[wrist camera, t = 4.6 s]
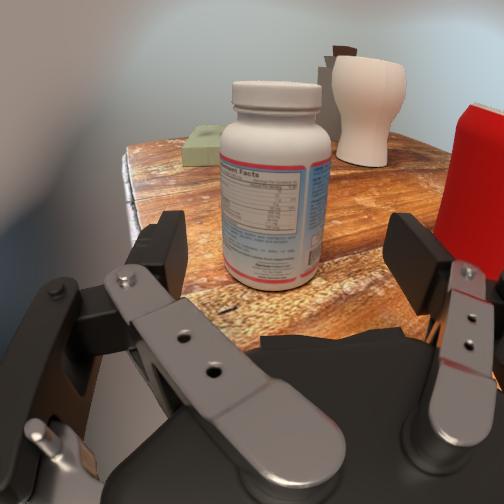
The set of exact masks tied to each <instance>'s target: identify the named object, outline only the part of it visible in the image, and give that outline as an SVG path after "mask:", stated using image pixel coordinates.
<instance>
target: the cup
mask: <svg viewBox="0 0 504 504" xmlns="http://www.w3.org/2000/svg"><path fill="white" fill-rule="evenodd" d="M332 90H333V95H334V99H335V102H336V105H337V107H338V109H339V112H340V114H341V128H342V133H341V137H340V141H339V144H338V148H337V153H336V156H337V157H338V158H339V159H341V160H343V161H346V162H349V163H353V164H357V165H362V166H370V167H382V166H386V165H387V137H388V134H389V130H390V126H391V123H392V121H393V120H394V119H395V117H396V115H397V114H398V113H399V111H400V109H401V106H402V104H403V102H404V99H405V94H406V78H405V71H404V67H403V66H402V65H399V64H396V63H392V62H388V61H383V60H378V59H371V58H365V57H356V56H337V58H336V61H335V64H334V68H333V71H332Z"/></svg>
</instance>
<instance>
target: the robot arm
mask: <svg viewBox="0 0 504 504" xmlns="http://www.w3.org/2000/svg"><path fill="white" fill-rule="evenodd" d="M383 259H384V262H385V263H386V265H387V267H388V268H389V270H390V271H391V273H392V275H393V276H394V278H395V279H396V281H397V283H398V284H399V286H400V288H401V289H402V291H403V293H404V294H405V296H406V298H407V299H408V301H409V303H410V304H411V306H412V308H413V310H414V311H415V313H416V315H417V316H419V315H428V314H430V315H431V316H430V318H429V320H428V323H427V326H426V329H425V333H424V336H423V340H422V341H421V340H418V339H414V338H409V337H405V335H404V333H403V331H402V329H401V327H395V328H385V329H374V330H368V331H365V332H362V333H359V334H356V335H352V336H349V337H346V338H343V339H338V340H334V339H326V338H318V337H311V336H303V335H279V336H260V347H259V348H255V349H252V350H249V351H246V352H242V351H241V350H240V349H239V348H238V347H237V346H236V345H235V344H233V343H232V342H231V341H230V340H229V339H228V338H227V337H226V336H225V335H224V334H223V333H222V332H221V331H220V330H219V329H218V328H217V327H216V326H215V325H214V324H213V323H212V322H211V321H210V320H209V319H208V318H207V317H206V316H205V315H204V314H203V313H202V312H201V311H200V310H199V309H198V308H197V307H196V306H195V305H194V304H193V303H192V302H191V301H190V300H189V299H187V298H186V297H182V298H180V296H181V292H182V287H183V282H184V277H185V273H186V268H187V263H188V245H187V235H186V224H185V214H184V211H183V210H178V211H163V213H162V215H161V217H160V219H159V221H158V224H149V225H148V226H147V227H145V228H144V229H143V230H142V231H141V232H140V234H139V236H138V238H137V240H136V242H135V244H134V247H133V248H132V250H131V252H130V254H129V256H128V258H127V260H126V262H125V264H124V265H122V266H119V267H117V268H115V269H113V270H111V271H110V272H109V273H108V274H107V275H106V276H105V279H104V284H103V285H100V286H96V287H91V288H86V289H81V290H80V289H79V286H78V284H77V281H76V280H74V279H73V278H69V277H61V278H56V279H53V280H51V281H49V282H47V283H46V284H45V285H44V286H42V287H41V288H40V290H39V291H38V293H37V295H36V296H35V298H34V300H33V302H32V304H31V305H30V307H29V309H28V310H27V312H26V314H25V316H24V318H23V320H22V321H21V323H20V325H19V327H18V329H17V331H16V333H15V335H14V337H13V339H12V341H11V343H10V345H9V347H8V349H7V351H6V353H5V355H4V357H3V360H2V362H1V364H0V504H504V270H503V271H502V272H501V273H500V276H499V278H498V280H497V281H495V280H490V279H485V274H484V272H483V271H482V270H481V269H480V268H479V267H478V266H477V265H475V264H473V263H471V262H469V261H466V260H456V259H455V257H454V256H453V255H452V254H451V253H450V252H449V251H448V250H447V248H446V247H445V246H443V245H442V243H441V242H440V241H439V240H437V238H436V236H435V235H434V234H433V233H432V232H431V231H429V230H428V229H426V228H425V227H423V225H422V224H421V223H420V222H419V221H418V220H417V219H416V218H415V217H414V216H413V215H412V214H410V213H392V215H391V216H390V220H389V224H388V228H387V233H386V237H385V241H384V245H383ZM125 350H126V351H127V353H128V355H129V356H130V358H131V359H132V361H133V363H134V364H135V366H136V367H137V369H138V371H139V372H140V374H141V375H142V377H143V378H144V380H145V381H146V383H147V384H148V386H149V387H150V389H151V390H152V392H153V394H154V396H155V397H156V399H157V401H158V403H159V405H160V407H161V408H162V410H163V412H164V413H165V414H166V416H167V417H168V420H167V421H166V422H165V423H163V424H162V425H161V426H160V427H159V428H158V429H157V430H156V431H155V432H154V433H153V434H152V435H151V436H150V437H149V438H148V439H147V440H145V441H144V442H143V443H142V444H141V445H140V446H139V447H138V448H137V449H136V450H135V451H134V452H132V453H131V454H130V455H129V456H128V457H127V458H126V459H125V460H124V461H123V462H121V463H120V464H119V465H118V466H117V467H116V468H115V469H114V470H113V471H112V473H111V474H110V475H109V477H108V478H107V480H106V482H105V483H103V482H100V480H99V477H98V474H97V462H96V458H95V456H94V453H93V452H92V451H91V449H90V448H89V447H88V446H87V445H86V444H85V443H84V442H83V441H84V436H85V430H86V425H87V420H88V416H89V411H90V407H91V402H92V398H93V393H94V389H95V385H96V381H97V377H98V372H99V369H100V365H101V361H102V358H103V355H106V354H111V353H116V352H121V351H125ZM492 371H493V373H494V375H495V377H496V379H497V381H498V383H499V385H500V387H501V389H502V391H501V390H499V389H498V388H497V382H496V380H495V379H493V378H492Z"/></svg>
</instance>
